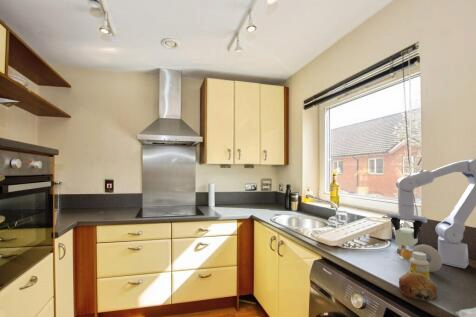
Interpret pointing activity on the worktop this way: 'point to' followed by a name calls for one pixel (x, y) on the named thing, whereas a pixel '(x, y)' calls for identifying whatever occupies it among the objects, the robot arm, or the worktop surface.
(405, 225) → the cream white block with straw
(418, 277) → the bread roll
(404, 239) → the cream white block
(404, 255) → the ball
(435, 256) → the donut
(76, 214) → the worktop surface
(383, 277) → the worktop surface
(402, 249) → the grey brown bar
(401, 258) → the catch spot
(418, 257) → the supplement bottle
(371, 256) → the worktop surface
